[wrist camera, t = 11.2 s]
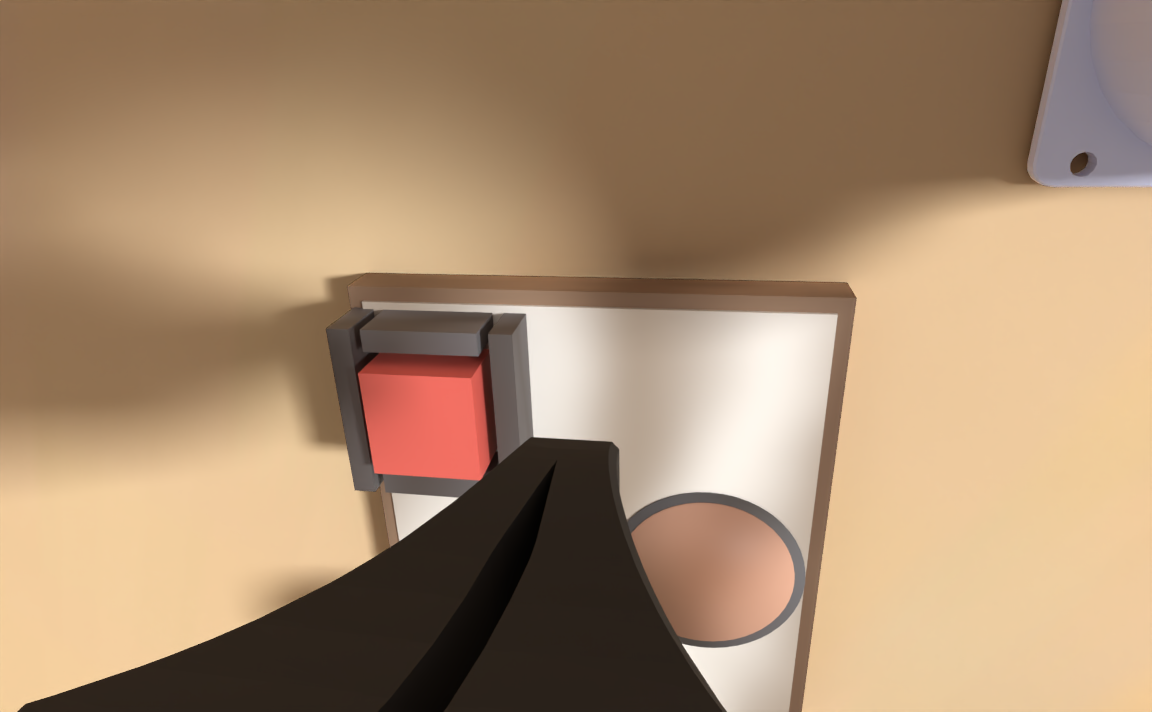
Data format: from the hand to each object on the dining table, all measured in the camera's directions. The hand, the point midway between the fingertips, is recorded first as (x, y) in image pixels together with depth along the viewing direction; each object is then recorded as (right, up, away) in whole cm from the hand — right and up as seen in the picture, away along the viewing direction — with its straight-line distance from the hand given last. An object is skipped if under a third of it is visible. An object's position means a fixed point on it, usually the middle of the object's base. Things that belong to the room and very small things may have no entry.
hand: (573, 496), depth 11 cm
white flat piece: (+1, -3, +11) cm, 12 cm away
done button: (-4, +1, +9) cm, 10 cm away
